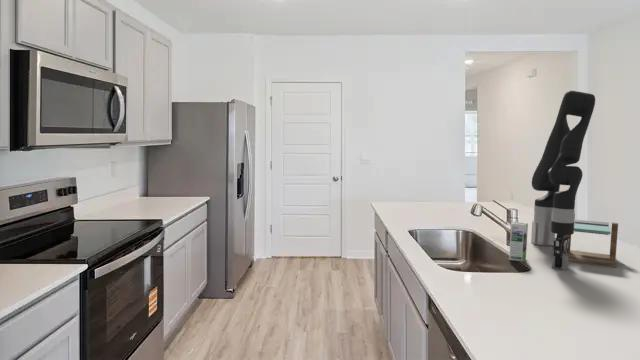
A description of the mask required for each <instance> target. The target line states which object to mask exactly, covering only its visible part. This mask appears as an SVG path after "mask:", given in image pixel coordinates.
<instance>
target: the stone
mask: <svg viewBox="0 0 640 360" xmlns="http://www.w3.org/2000/svg"><path fill="white" fill-rule="evenodd" d="M557 253H560V252H559V251H557ZM553 254H554V251H553V252H552V254H551V255H552V259H551V268H552V269H559V270H564V271H567V270H568V269H569V268H568V267H569V261H568V258H569V253H563V257H562V267H561V268H557V267H555V256H554V255H553Z"/></svg>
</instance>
